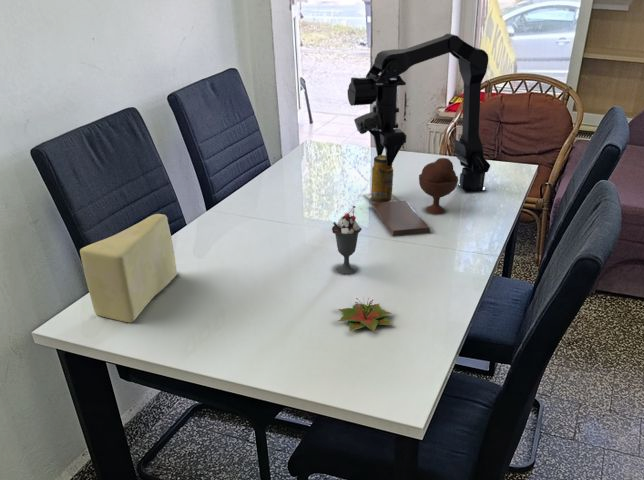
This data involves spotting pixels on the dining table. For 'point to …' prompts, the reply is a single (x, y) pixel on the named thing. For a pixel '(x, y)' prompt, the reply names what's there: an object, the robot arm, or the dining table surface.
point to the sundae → (346, 240)
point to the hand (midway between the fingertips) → (384, 160)
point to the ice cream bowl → (438, 182)
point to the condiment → (381, 181)
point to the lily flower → (365, 316)
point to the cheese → (129, 268)
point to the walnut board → (400, 218)
